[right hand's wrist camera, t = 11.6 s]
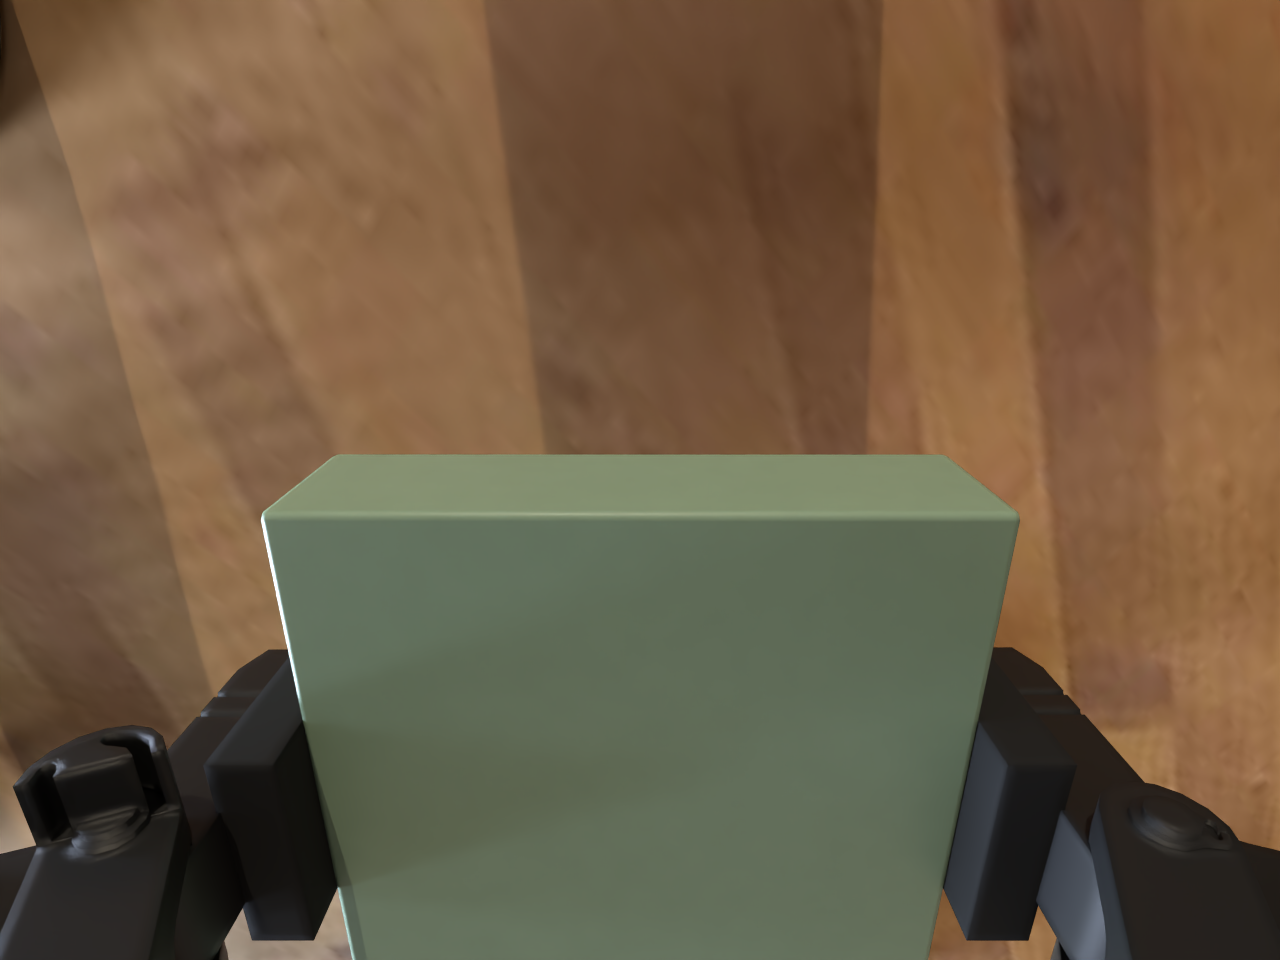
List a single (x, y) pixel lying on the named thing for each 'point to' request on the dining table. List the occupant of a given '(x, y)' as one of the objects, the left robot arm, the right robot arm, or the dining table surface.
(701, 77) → the dining table surface
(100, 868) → the right robot arm
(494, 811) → the green square block
